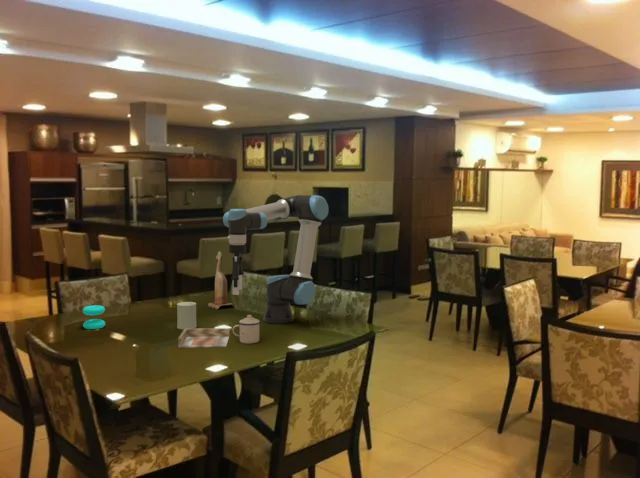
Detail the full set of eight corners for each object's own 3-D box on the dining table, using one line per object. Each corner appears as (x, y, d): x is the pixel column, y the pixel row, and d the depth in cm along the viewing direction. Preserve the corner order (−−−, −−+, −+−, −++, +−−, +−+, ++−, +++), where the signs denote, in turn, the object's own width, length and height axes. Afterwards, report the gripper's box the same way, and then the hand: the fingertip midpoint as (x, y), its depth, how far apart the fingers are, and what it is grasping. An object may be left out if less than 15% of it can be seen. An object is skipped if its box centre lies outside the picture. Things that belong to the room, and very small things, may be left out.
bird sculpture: (224, 304, 347) (222, 249, 345) (235, 307, 339) (234, 250, 336) (207, 307, 340) (205, 251, 337) (218, 310, 331) (216, 252, 329)
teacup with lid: (260, 338, 272) (260, 313, 271) (259, 343, 263) (259, 317, 261) (233, 338, 271) (233, 313, 270) (231, 344, 262) (231, 317, 261)
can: (192, 330, 286) (191, 305, 285) (173, 328, 288) (173, 304, 287) (199, 325, 295) (199, 301, 294) (182, 324, 297) (181, 300, 296)
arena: (229, 337, 274) (229, 328, 273) (226, 347, 257) (225, 337, 256) (184, 337, 272) (184, 328, 272) (178, 347, 256) (178, 338, 255)
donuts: (78, 306, 289) (98, 303, 296) (79, 327, 290) (99, 324, 297) (88, 310, 282) (108, 306, 289) (89, 331, 283) (109, 327, 290)
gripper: (232, 241, 278) (232, 287, 279) (225, 246, 253) (225, 297, 255) (248, 241, 278) (248, 287, 280) (243, 247, 253) (243, 297, 255)
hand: (237, 292), depth 267 cm, fingers open, 13 cm apart
